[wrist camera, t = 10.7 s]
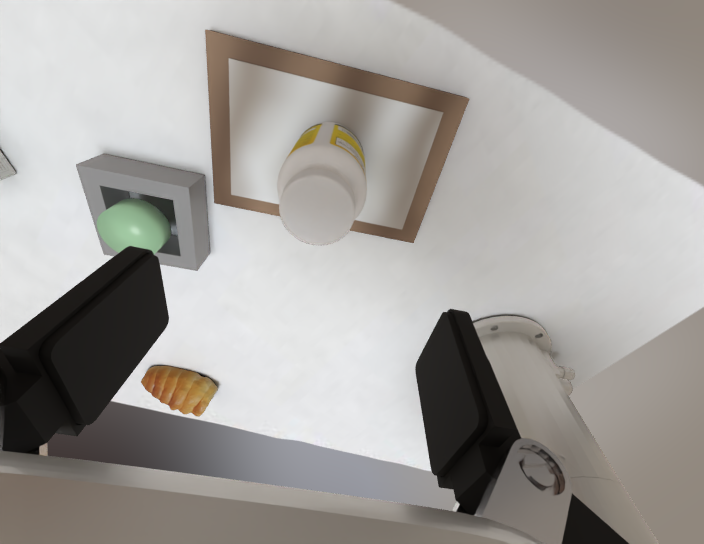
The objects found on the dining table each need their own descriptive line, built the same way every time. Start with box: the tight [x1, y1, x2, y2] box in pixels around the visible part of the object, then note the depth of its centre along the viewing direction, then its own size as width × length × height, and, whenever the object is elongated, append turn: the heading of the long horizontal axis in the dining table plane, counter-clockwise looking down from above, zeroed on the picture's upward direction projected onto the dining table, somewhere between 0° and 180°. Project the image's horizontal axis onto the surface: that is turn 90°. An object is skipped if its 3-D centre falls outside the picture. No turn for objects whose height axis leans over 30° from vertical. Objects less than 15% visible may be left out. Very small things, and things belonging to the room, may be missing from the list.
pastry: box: [141, 366, 218, 416], centre depth 42 cm, size 9×7×4 cm
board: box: [205, 30, 469, 243], centre depth 24 cm, size 18×12×1 cm, turn 78°
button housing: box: [76, 154, 210, 271], centre depth 26 cm, size 8×8×3 cm
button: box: [97, 198, 171, 254], centre depth 24 cm, size 4×4×2 cm
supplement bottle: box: [277, 122, 367, 245], centre depth 20 cm, size 5×5×10 cm
